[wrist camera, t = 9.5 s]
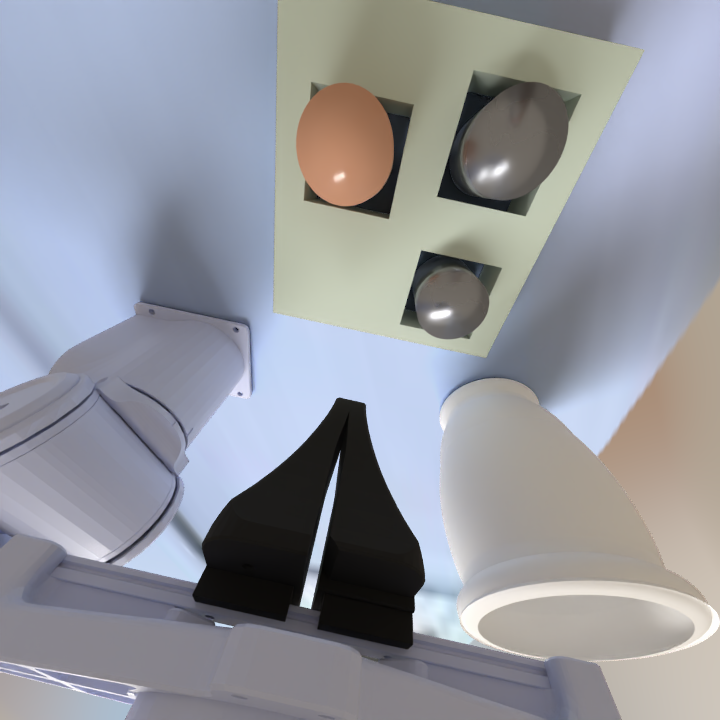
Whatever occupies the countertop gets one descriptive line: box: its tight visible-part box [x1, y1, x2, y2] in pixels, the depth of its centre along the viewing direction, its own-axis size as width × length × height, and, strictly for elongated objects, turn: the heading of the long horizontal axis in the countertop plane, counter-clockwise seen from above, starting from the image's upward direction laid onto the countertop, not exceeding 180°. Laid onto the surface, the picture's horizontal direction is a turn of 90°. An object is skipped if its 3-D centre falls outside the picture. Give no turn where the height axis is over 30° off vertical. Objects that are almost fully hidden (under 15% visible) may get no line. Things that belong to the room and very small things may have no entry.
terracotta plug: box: [296, 83, 394, 206], centre depth 13 cm, size 4×4×4 cm
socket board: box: [273, 0, 644, 358], centre depth 16 cm, size 15×15×3 cm
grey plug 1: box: [412, 255, 489, 339], centre depth 18 cm, size 4×4×4 cm
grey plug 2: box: [449, 82, 569, 200], centre depth 14 cm, size 4×4×4 cm
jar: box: [440, 378, 720, 661], centre depth 19 cm, size 11×10×15 cm
